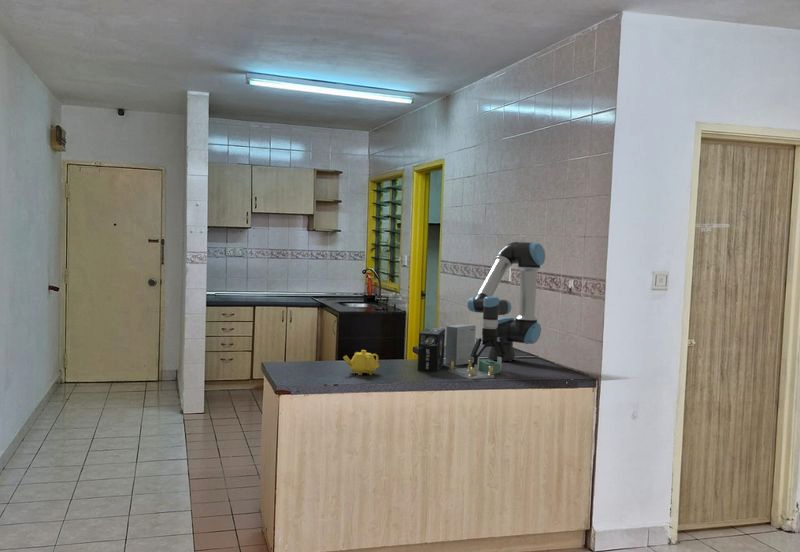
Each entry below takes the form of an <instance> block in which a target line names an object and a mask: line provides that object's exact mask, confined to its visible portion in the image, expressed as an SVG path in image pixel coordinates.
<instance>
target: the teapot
mask: <svg viewBox="0 0 800 552" xmlns="http://www.w3.org/2000/svg"><path fill="white" fill-rule="evenodd" d="M375 357H376V358H375ZM342 358H343V360H344V361H345V362H346V364H348V366H349V369H350V370H351V371H352V373H353V372H355V373H354V374H358V375H361V376H363V374H367V375H368V374H369V375H368V376H373V375H372V374H373V373H374V372H375V371H376V370H377V368H380V363H379V355H378V354H377V353H371V352H367V350H365V349H361V351H360V352H359V351H355V352H354V355H353V356H352V358H351V359H350V358H349V357H348V355H344V356H343V357H342ZM356 372H358V373H356ZM358 375H357V376H358Z"/></svg>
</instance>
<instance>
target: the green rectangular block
mask: <svg viewBox="0 0 800 552" xmlns="http://www.w3.org/2000/svg"><path fill="white" fill-rule="evenodd" d="M489 366H493V375H497V374H498V373H500V374H501V370H500V364H499V363H497V361H494V360H490V359H488V358H482V359H481V358H479V371H482V372H485V373H488V374H489ZM496 373H497V374H496Z"/></svg>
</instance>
